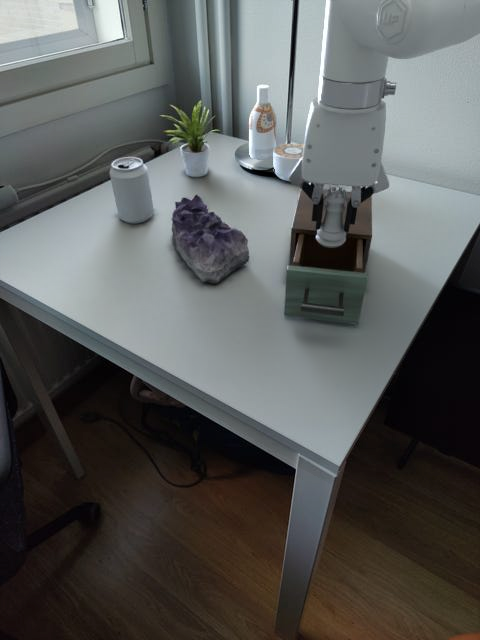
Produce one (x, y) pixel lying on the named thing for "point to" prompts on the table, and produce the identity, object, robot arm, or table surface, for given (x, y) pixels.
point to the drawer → (326, 281)
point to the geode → (207, 241)
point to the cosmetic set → (271, 138)
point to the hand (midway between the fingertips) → (332, 225)
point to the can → (131, 189)
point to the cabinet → (307, 226)
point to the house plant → (193, 142)
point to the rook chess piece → (333, 219)
